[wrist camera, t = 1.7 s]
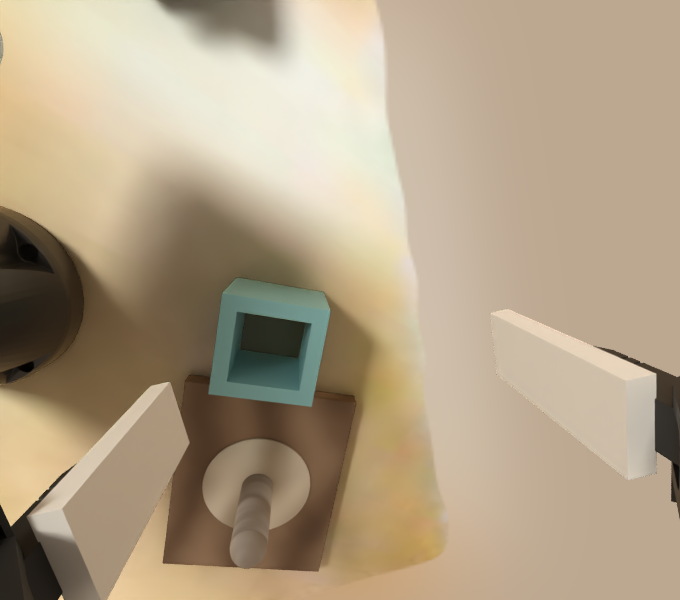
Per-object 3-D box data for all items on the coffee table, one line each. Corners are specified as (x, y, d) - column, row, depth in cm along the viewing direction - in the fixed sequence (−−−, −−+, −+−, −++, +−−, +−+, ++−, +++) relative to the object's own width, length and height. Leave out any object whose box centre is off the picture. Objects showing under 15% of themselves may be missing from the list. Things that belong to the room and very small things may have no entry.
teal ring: (225, 359, 35) (208, 394, 28) (237, 277, 34) (222, 292, 27) (308, 371, 36) (311, 406, 30) (323, 292, 35) (330, 310, 28)
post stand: (167, 550, 39) (125, 661, 29) (189, 374, 35) (149, 435, 25) (317, 559, 41) (324, 663, 32) (353, 396, 38) (374, 459, 28)
